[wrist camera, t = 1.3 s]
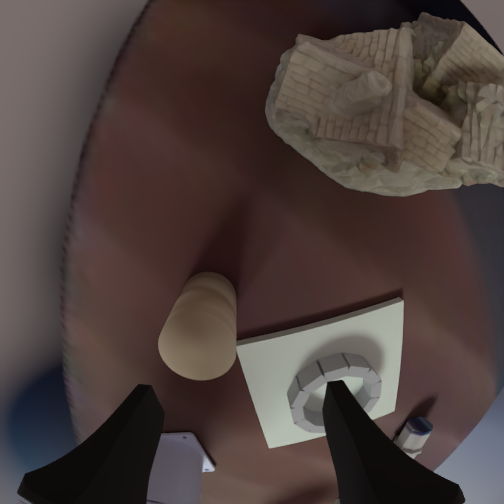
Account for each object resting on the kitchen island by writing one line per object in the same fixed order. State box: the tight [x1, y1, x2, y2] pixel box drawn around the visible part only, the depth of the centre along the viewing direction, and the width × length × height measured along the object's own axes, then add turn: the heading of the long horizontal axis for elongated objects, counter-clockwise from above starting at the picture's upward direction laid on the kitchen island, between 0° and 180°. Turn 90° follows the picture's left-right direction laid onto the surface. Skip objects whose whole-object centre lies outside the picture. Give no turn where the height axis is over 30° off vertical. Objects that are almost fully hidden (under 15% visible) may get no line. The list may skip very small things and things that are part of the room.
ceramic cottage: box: [265, 12, 504, 197], centre depth 10 cm, size 16×16×15 cm
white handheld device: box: [334, 417, 433, 504], centre depth 26 cm, size 5×7×25 cm
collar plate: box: [236, 297, 404, 448], centre depth 21 cm, size 14×14×3 cm
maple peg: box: [158, 272, 236, 380], centre depth 17 cm, size 4×4×7 cm
